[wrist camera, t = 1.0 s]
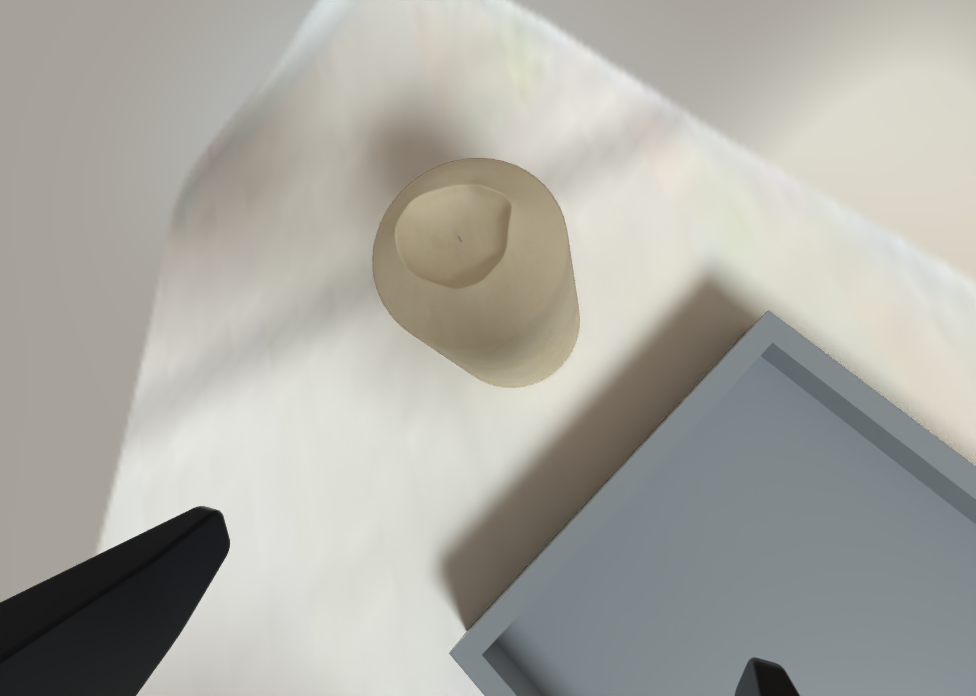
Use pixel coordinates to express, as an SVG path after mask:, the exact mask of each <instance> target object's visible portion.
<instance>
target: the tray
mask: <svg viewBox="0 0 976 696" xmlns="http://www.w3.org/2000/svg"><path fill="white" fill-rule="evenodd" d="M449 654H450V655H451V656H452V657H453V659H454V660H455V661H456V662H457V663H458V665H459V666H460V667H461V668H462V669H463V670H464V672H465V673H466V674H467V675H468V676H469V678H470V679H471V680H472V681H473V682H474V684H475V685H476V686H477V687H478V688H479V689H480V691H481V692H482V693H483V694H484V695H485V696H735V691H736V688H737V685H738V683H739V681H740V678H741V676H742V674H743V671H744V669H745V667H746V665H747V662H748V661H749V659H751V658H753V657H756V658H760V659H764V660H767V661H771V662H775V663H777V664H779V665H781V666H782V667H783V668H784V669H785V671H786V672H787V674H788V676H789V677H790V679H791V681H792V682H793V684H794V686H795V688H796V689H797V691H798V693H799V694H800V696H976V467H975V466H974V465H973V464H971V463H970V462H969V461H967V460H966V459H965V458H963V457H962V456H961V455H959V454H958V453H957V452H956V451H954V450H953V449H952V448H950V447H949V446H948V445H946V444H945V443H944V442H942V441H941V440H940V439H938V438H937V437H936V436H934V435H933V434H932V433H930V432H929V431H928V430H926V429H925V428H924V427H922V426H921V425H920V424H918V423H917V422H916V421H914V420H913V419H912V418H910V417H909V416H908V415H907V414H905V413H904V412H903V411H901V410H900V409H899V408H897V407H896V406H895V405H893V404H892V403H891V402H889V401H888V400H887V399H885V398H884V397H883V396H881V395H880V394H879V393H877V392H876V391H875V390H873V389H872V388H871V387H869V386H868V385H867V384H865V383H864V382H863V381H861V380H860V379H859V378H858V377H856V376H855V375H854V374H852V373H851V372H850V371H848V370H847V369H846V368H844V367H843V366H842V365H840V364H839V363H838V362H836V361H835V360H834V359H832V358H831V357H830V356H828V355H827V354H826V353H824V352H823V351H822V350H820V349H819V348H818V347H816V346H815V345H814V344H813V343H811V342H810V341H809V340H807V339H806V338H805V337H803V336H802V335H801V334H799V333H798V332H797V331H795V330H794V329H793V328H791V327H790V326H789V325H787V324H786V323H785V322H783V321H782V320H781V319H779V318H778V317H777V316H775V315H774V314H773V313H771V312H770V311H767V312H766V313H765V314H764V315H763V316H762V317H761V318H760V319H759V320H758V321H756V322H755V323H754V324H753V325H752V326H751V327H750V328H749V329H748V330H747V331H746V332H745V333H744V334H743V335H742V337H741V338H740V339H739V340H738V341H737V342H736V343H735V344H734V345H733V346H732V347H731V348H730V349H729V350H728V352H727V353H726V354H725V355H724V356H723V357H722V358H721V359H720V360H719V361H718V362H717V363H716V364H715V366H714V367H713V368H712V369H711V370H710V371H709V372H708V373H707V374H706V375H705V376H704V377H703V378H702V379H701V381H700V382H699V383H698V384H697V385H696V386H695V387H694V388H693V389H692V390H691V391H690V392H689V393H688V394H687V396H686V397H685V398H684V399H683V400H682V401H681V402H680V403H679V404H678V405H677V406H676V407H675V408H674V409H673V411H672V412H671V413H670V414H669V415H668V416H667V417H666V418H665V419H664V420H663V421H662V422H661V423H660V425H659V426H658V427H657V428H656V429H655V430H654V431H653V432H652V433H651V434H650V435H649V436H648V437H647V438H646V440H645V441H644V442H643V443H642V444H641V445H640V446H639V447H638V448H637V449H636V450H635V451H634V452H633V453H632V455H631V456H630V457H629V458H628V459H627V460H626V461H625V462H624V463H623V464H622V465H621V466H620V467H619V469H618V470H617V471H616V472H615V473H614V474H613V475H612V476H611V477H610V478H609V479H608V480H607V481H606V482H605V484H604V485H603V486H602V487H601V488H600V489H599V490H598V491H597V492H596V493H595V494H594V495H593V496H592V497H591V499H590V500H589V501H588V502H587V503H586V504H585V505H584V506H583V507H582V508H581V509H580V510H579V511H578V513H577V514H576V515H575V516H574V517H573V518H572V519H571V520H570V521H569V522H568V523H567V524H566V525H565V526H564V528H563V529H562V530H561V531H560V532H559V533H558V534H557V535H556V536H555V537H554V538H553V539H552V540H551V541H550V543H549V544H548V545H547V546H546V547H545V548H544V549H543V550H542V551H541V552H540V553H539V554H538V555H537V557H536V558H535V559H534V560H533V561H532V562H531V563H530V564H529V565H528V566H527V567H526V568H525V569H524V570H523V572H522V573H521V574H520V575H519V576H518V577H517V578H516V579H515V580H514V581H513V582H512V583H511V584H510V585H509V587H508V588H507V589H506V590H505V591H504V592H503V593H502V594H501V595H500V596H499V597H498V598H497V599H496V600H495V602H494V603H493V604H492V605H491V606H490V607H489V608H488V609H487V610H486V611H485V612H484V613H483V614H482V616H481V617H480V618H479V619H478V620H477V621H476V622H475V623H474V624H473V625H472V626H471V627H470V628H469V629H468V631H467V632H466V633H465V634H464V635H463V637H462V638H461V639H460V640H459V642H458V643H457V644H456V645H455V647H454V648H453V649H452V650H451V652H450V653H449Z"/></svg>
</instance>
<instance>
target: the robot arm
mask: <svg viewBox="0 0 976 696" xmlns="http://www.w3.org/2000/svg"><path fill="white" fill-rule="evenodd" d="M229 548H230V539H229V535H228V531H227V527H226V524H225V520H224V516H223V514H222V513H221V512H220V511H219V510H216V509H212V508H209V507H205V506H199V507H195V508H193V509H191V510H189V511H187V512H185V513H183V514H181V515H179V516H176V517H174V518H172V519H170V520H168V521H166V522H164V523H162V524H160V525H158V526H156V527H154V528H152V529H150V530H148V531H146V532H144V533H142V534H140V535H138V536H136V537H133V538H131V539H129V540H127V541H125V542H123V543H121V544H119V545H117V546H115V547H113V548H111V549H109V550H107V551H105V552H103V553H101V554H99V555H97V556H95V557H93V558H91V559H88V560H87V561H85V562H83V563H80V564H78V565H76V566H74V567H72V568H70V569H68V570H66V571H64V572H62V573H60V574H58V575H56V576H54V577H52V578H50V579H48V580H46V581H43V582H42V583H39V584H37V585H35V586H33V587H31V588H29V589H27V590H25V591H23V592H21V593H19V594H17V595H15V596H13V597H11V598H9V599H7V600H5V601H3V602H1V603H0V696H136V695H137V694H138V692H139V691H140V689H141V688H142V687H143V685H144V684H145V682H146V681H147V680H148V678H149V677H150V676H151V674H152V673H153V671H154V670H155V669H156V667H157V666H158V664H159V663H160V662H161V660H162V659H163V657H164V656H165V655H166V653H167V652H168V650H169V649H170V648H171V646H172V645H173V643H174V642H175V640H176V639H177V637H178V636H179V635H180V633H181V631H182V630H183V628H184V627H185V625H186V624H187V622H188V620H189V619H190V617H191V615H192V614H193V612H194V610H195V608H196V607H197V605H198V603H199V602H200V600H201V598H202V597H203V595H204V593H205V592H206V590H207V588H208V586H209V585H210V583H211V581H212V580H213V578H214V576H215V575H216V573H217V571H218V570H219V568H220V566H221V565H222V563H223V561H224V559H225V558H226V556H227V554H228V551H229ZM735 696H800V694H799V693H798V691H797V689H796V688H795V686H794V684H793V682H792V681H791V679H790V677H789V676H788V674H787V672H786V671H785V669H784V668H783V667H782V666H781V665H779V664H777V663H775V662H771V661H767V660H764V659H760V658H756V657H753V658H751V659H749V661H748V662H747V665H746V667H745V669H744V671H743V674H742V676H741V678H740V681H739V683H738V685H737V688H736V691H735Z"/></svg>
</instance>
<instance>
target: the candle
mask: <svg viewBox="0 0 976 696" xmlns="http://www.w3.org/2000/svg"><path fill="white" fill-rule="evenodd" d="M372 261H373V274H374V280H375V284H376V288H377V291H378V294H379V296H380V298H381V300H382V302H383V304H384V306H385V307H386V309H387V310H388V312H389V314H390V315H391V316H392V317H393V318H394V319H395V320H396V322H397V323H398V324H399V325H401V326H402V327H403V328H404V329H405V330H406V331H408V332H409V333H411V334H412V335H413V336H415V337H416V338H418V339H419V340H421V341H422V342H424V343H425V344H427V345H428V346H430V347H431V348H433V349H434V350H436V351H437V352H439V353H440V354H442V355H443V356H445V357H446V358H448V359H449V360H451V361H452V362H454V363H455V364H456V365H458V366H459V367H461V368H462V369H464V370H465V371H467V372H468V373H470V374H471V375H473V376H475V377H476V378H478V379H480V380H482V381H484V382H486V383H488V384H491V385H495V386H499V387H505V388H516V387H524V386H528V385H532V384H535V383H538V382H540V381H542V380H544V379H546V378H548V377H549V376H550V375H552V374H553V373H555V372H556V371H557V370H558V369H559V368H560V367H561V366H562V365H563V364H564V362H565V361H566V360H567V359H568V357H569V355H570V354H571V352H572V350H573V348H574V346H575V344H576V340H577V337H578V332H579V322H580V316H579V306H578V299H577V292H576V286H575V279H574V272H573V266H572V259H571V252H570V245H569V239H568V232H567V227H566V223H565V220H564V216H563V214H562V211H561V209H560V207H559V205H558V203H557V201H556V200H555V198H554V196H553V195H552V194H551V192H550V191H549V190H548V189H547V187H546V186H545V185H544V184H543V183H542V182H541V181H539V180H538V179H537V178H536V177H535V176H533V175H532V174H530V173H529V172H527V171H526V170H524V169H522V168H520V167H518V166H516V165H513V164H510V163H507V162H504V161H500V160H495V159H487V158H470V159H462V160H457V161H452V162H449V163H446V164H443V165H440V166H438V167H436V168H433V169H431V170H429V171H428V172H426V173H424V174H422V175H421V176H419V177H418V178H417V179H415V180H414V181H413V182H411V183H410V184H409V185H408V186H407V187H406V188H405V189H404V190H402V191H401V192H400V194H399V195H398V196H397V197H396V198H395V200H394V201H393V202H392V204H391V205H390V207H389V208H388V210H387V211H386V213H385V215H384V217H383V219H382V221H381V223H380V226H379V228H378V231H377V234H376V238H375V242H374V247H373V258H372Z"/></svg>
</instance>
